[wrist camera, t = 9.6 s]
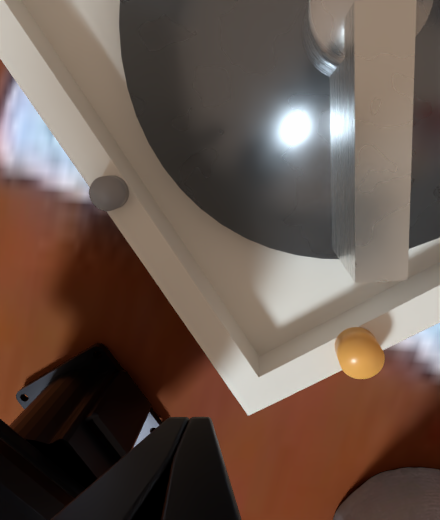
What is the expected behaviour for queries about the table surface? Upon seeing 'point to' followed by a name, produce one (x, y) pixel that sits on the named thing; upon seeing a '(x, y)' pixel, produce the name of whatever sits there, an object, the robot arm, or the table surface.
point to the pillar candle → (395, 497)
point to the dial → (297, 119)
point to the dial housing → (204, 225)
